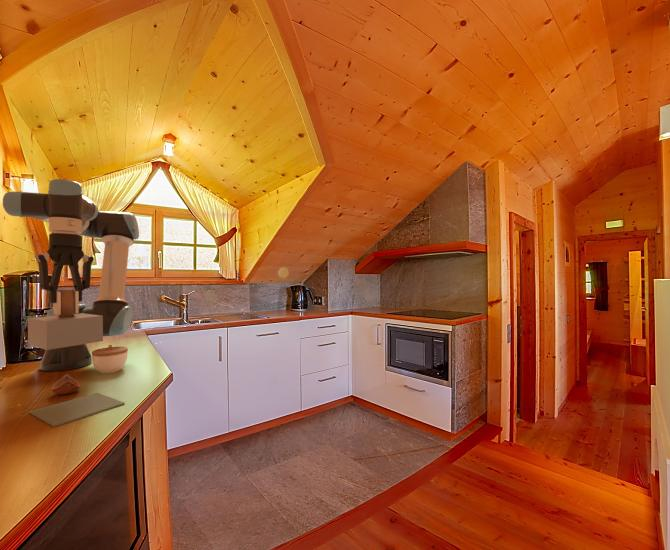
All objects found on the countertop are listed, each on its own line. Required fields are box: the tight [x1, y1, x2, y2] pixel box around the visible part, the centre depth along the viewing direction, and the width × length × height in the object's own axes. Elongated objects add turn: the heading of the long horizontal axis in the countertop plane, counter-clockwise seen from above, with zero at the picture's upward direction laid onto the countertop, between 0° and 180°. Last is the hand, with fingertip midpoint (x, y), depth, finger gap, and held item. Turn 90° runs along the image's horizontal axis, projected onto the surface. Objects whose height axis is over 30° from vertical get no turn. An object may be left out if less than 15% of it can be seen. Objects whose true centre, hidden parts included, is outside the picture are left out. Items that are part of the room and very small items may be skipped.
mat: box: [28, 392, 126, 428], centre depth 83 cm, size 15×15×1 cm
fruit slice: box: [50, 373, 82, 395], centre depth 94 cm, size 8×7×5 cm
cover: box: [27, 288, 104, 351], centre depth 94 cm, size 13×13×16 cm
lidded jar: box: [91, 344, 129, 374], centre depth 117 cm, size 11×11×9 cm
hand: (66, 313), depth 94 cm, fingers closed on cover, 4 cm apart
